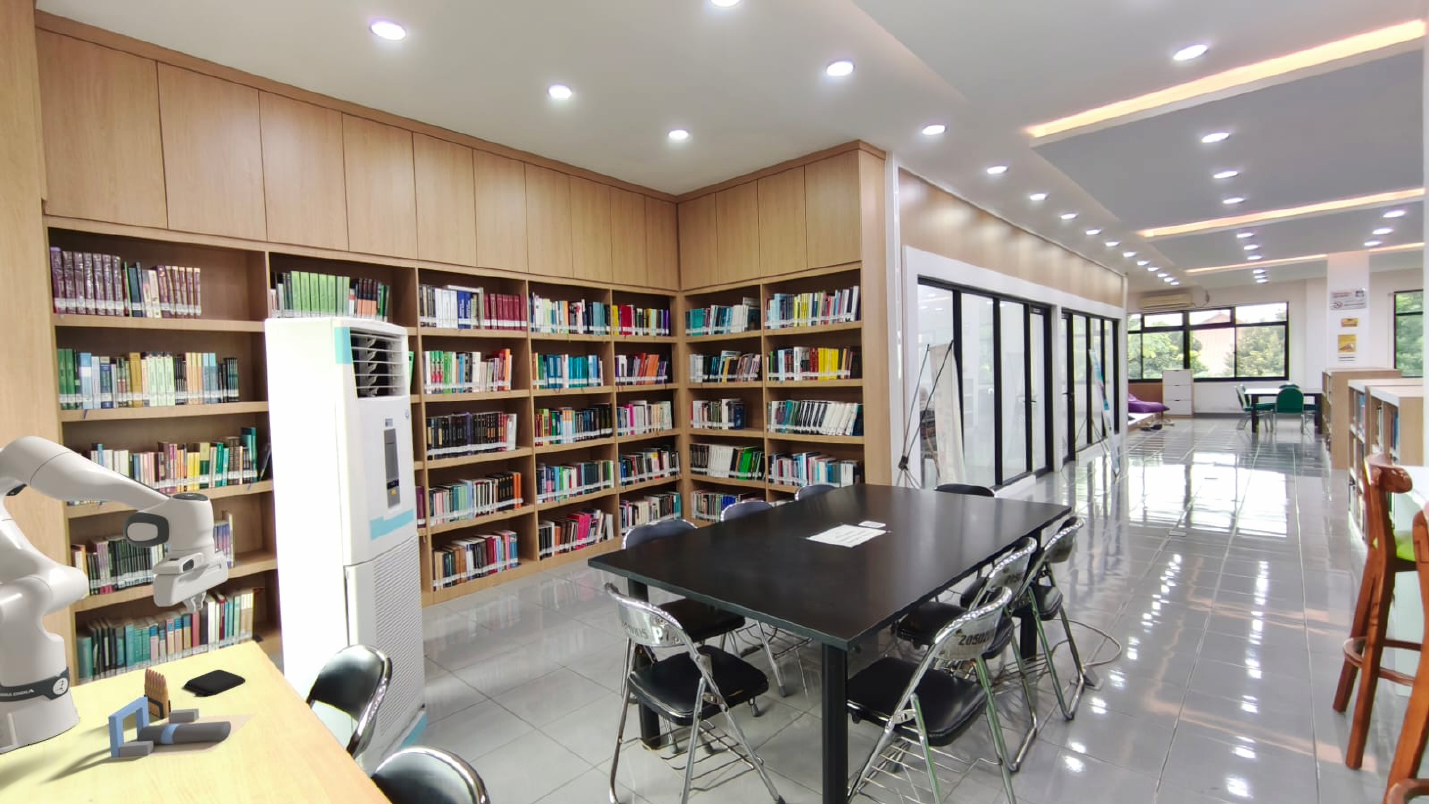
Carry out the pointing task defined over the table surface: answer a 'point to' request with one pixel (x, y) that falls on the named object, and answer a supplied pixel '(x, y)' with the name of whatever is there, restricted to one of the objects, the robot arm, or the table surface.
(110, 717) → the blue arch frame
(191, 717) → the beige base board
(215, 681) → the carrying case or bag
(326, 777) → the table surface
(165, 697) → the ammunition clip
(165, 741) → the gray banded cylinder
